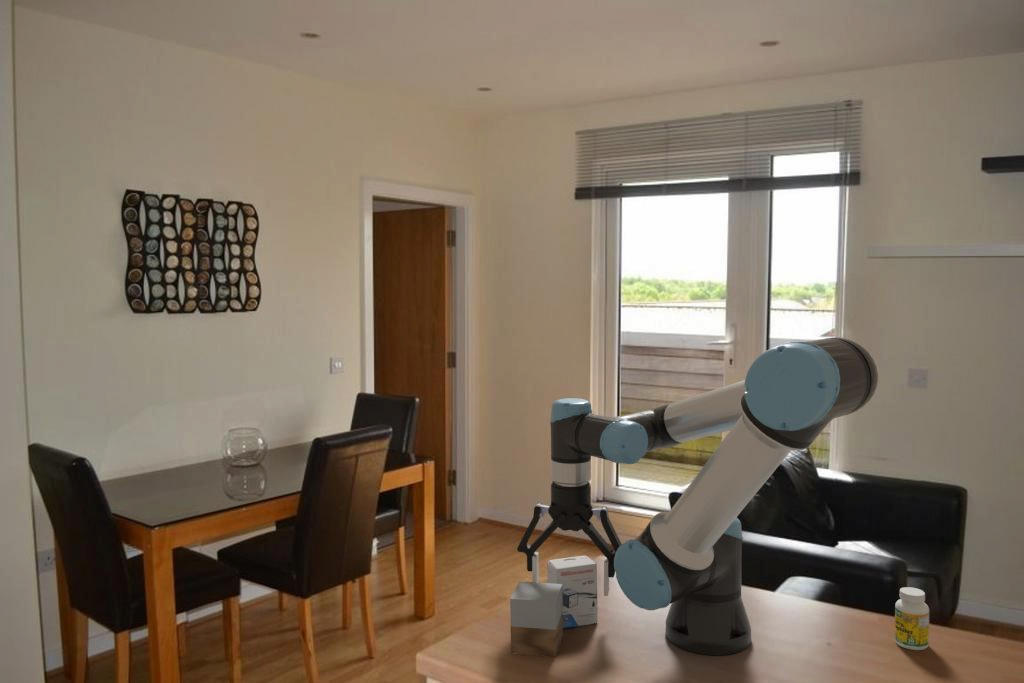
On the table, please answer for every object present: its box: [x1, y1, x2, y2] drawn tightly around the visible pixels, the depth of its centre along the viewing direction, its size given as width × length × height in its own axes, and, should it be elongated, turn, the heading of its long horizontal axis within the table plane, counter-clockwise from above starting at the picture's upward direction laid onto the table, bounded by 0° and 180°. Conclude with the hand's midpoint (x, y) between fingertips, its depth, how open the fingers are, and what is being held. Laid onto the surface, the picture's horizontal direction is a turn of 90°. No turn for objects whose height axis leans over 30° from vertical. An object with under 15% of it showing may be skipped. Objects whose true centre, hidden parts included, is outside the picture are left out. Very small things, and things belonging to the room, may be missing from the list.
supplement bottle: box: [894, 586, 930, 651], centre depth 141 cm, size 5×5×10 cm
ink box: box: [546, 555, 599, 630], centre depth 152 cm, size 9×5×12 cm, turn 108°
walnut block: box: [510, 611, 564, 658], centre depth 143 cm, size 8×8×5 cm
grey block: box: [509, 580, 563, 630], centre depth 143 cm, size 8×8×5 cm
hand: (570, 590), depth 152 cm, fingers open, 13 cm apart
